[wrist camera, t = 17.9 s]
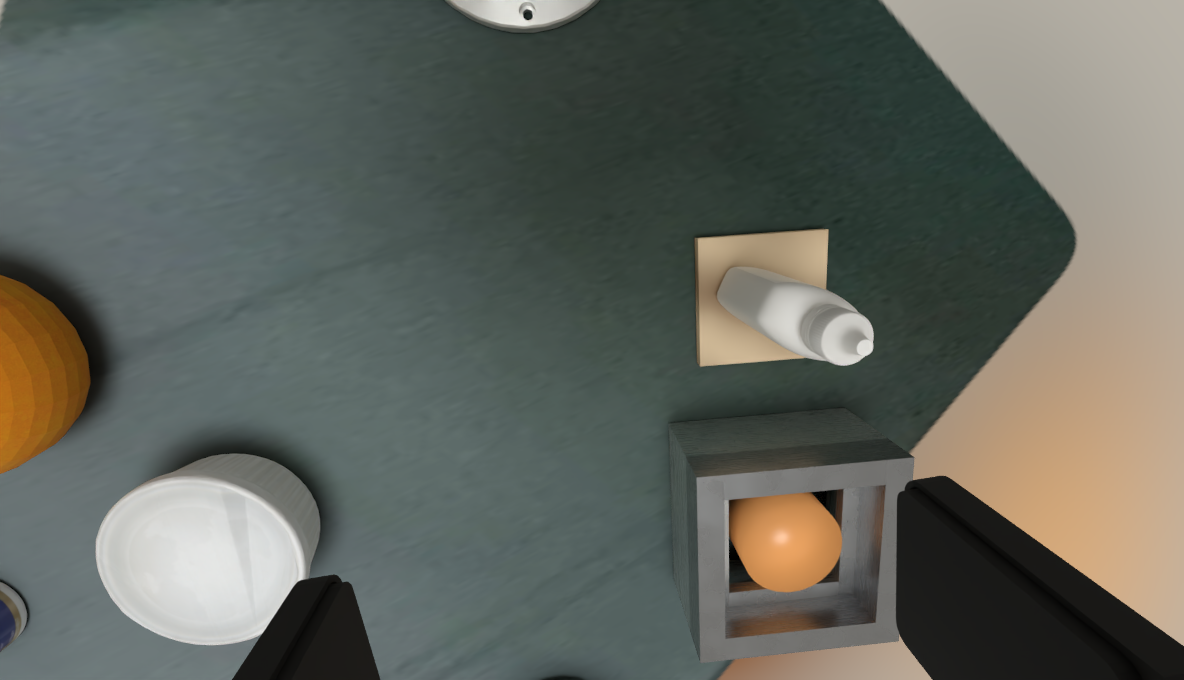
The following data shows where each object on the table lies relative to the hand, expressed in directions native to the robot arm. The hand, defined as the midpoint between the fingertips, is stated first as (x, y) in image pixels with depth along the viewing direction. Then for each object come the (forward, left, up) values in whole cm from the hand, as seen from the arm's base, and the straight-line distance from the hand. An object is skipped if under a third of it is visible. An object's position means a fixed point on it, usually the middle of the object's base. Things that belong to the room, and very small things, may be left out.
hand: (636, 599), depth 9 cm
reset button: (+14, +11, -25) cm, 31 cm away
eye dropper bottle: (0, +11, -25) cm, 28 cm away
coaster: (0, +12, -26) cm, 28 cm away
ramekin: (+12, -22, -26) cm, 37 cm away
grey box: (+14, +12, -26) cm, 32 cm away
